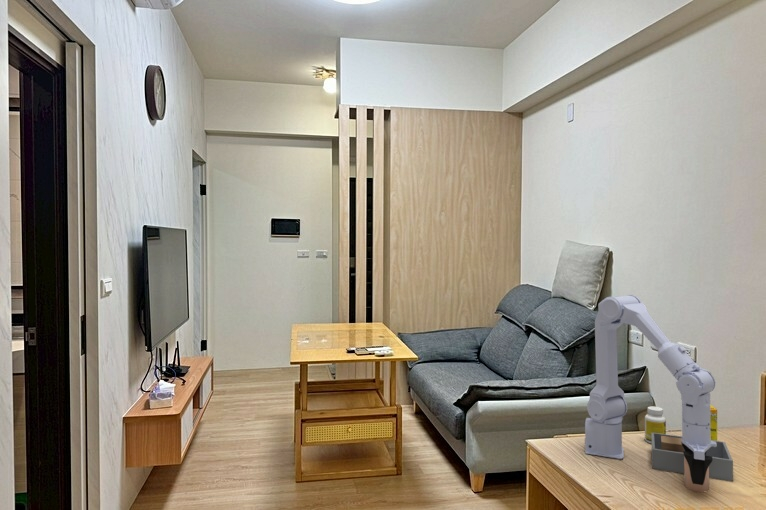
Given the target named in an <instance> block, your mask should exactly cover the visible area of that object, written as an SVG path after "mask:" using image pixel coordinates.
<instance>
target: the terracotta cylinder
mask: <svg viewBox="0 0 766 510" xmlns="http://www.w3.org/2000/svg"><path fill="white" fill-rule="evenodd" d="M683 479H684V480H683V481H684V483H683V484H684V487H685V488H686V489H688V490H690V491H693V492H697V493H698V492H699V493H705V492H704V491H707V492H709V491H710V478H709V467H708V469H707V472H706V476H705V480H704V484H703V485H698V484H693V483H692V479H691V474H690V469H689V465H688V462H687V460H686V458H685V456H684V475H683ZM708 490H709V491H708Z"/></svg>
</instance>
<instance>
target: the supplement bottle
mask: <svg viewBox="0 0 766 510" xmlns="http://www.w3.org/2000/svg"><path fill="white" fill-rule="evenodd" d="M666 420H667V419H666V417H665V416H664V409H663V408H662V407H660V406H653V405H652V406H651V405H650V406H648V407H647V413H646V415H644V440H645V441H646V443H649V444H651V445H652V439H651V432H652V433H660V434H667V421H666Z"/></svg>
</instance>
